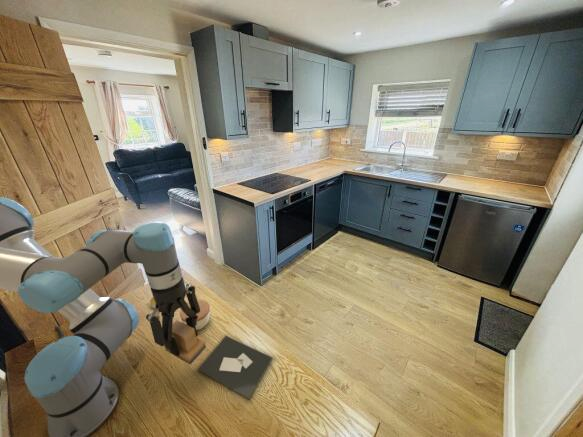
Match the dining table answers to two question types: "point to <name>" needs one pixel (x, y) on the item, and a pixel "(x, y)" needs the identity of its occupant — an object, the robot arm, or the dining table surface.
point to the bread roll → (153, 303)
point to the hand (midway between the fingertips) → (184, 343)
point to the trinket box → (199, 314)
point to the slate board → (236, 366)
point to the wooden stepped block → (186, 342)
